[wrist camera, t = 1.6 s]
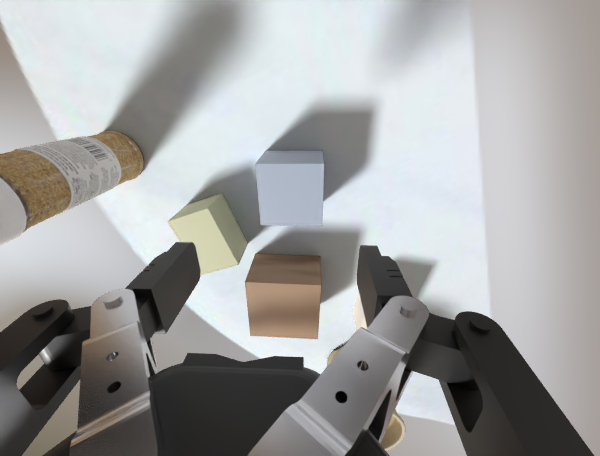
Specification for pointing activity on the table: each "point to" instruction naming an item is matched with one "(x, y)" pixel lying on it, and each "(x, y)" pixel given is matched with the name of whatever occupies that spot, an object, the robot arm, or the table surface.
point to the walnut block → (284, 296)
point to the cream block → (359, 314)
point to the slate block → (290, 187)
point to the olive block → (211, 233)
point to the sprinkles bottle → (61, 177)
